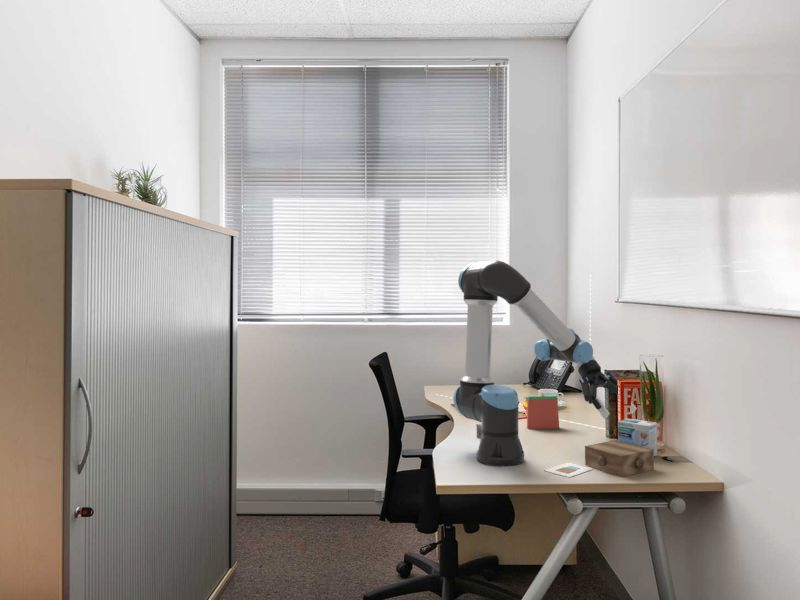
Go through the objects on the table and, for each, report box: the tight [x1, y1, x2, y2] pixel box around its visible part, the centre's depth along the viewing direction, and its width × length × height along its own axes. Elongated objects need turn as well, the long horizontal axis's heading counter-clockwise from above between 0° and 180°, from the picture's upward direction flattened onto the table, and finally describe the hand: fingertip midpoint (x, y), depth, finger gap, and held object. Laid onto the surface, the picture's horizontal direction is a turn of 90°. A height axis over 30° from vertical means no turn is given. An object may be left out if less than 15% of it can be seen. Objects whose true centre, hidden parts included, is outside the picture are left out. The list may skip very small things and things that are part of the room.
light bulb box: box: [617, 417, 658, 457], centre depth 201 cm, size 11×7×11 cm, turn 45°
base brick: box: [584, 439, 655, 478], centre depth 186 cm, size 15×15×6 cm
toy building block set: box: [519, 392, 560, 430], centre depth 257 cm, size 12×35×14 cm, turn 0°
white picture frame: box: [543, 462, 594, 479], centre depth 184 cm, size 12×9×1 cm
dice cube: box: [476, 423, 482, 440], centre depth 226 cm, size 5×5×5 cm
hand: (620, 413), depth 209 cm, fingers open, 13 cm apart
